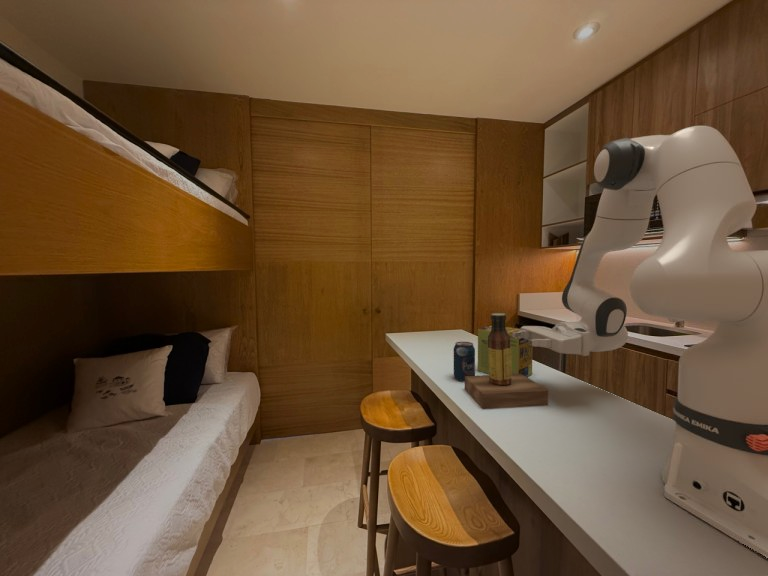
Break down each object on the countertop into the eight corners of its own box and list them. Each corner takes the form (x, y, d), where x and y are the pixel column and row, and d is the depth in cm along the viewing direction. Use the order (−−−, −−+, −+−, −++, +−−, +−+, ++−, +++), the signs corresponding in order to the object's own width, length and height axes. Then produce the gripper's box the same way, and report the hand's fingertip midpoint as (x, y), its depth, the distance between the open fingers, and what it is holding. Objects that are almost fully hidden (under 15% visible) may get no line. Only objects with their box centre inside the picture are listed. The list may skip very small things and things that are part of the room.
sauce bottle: (508, 378, 95) (508, 312, 93) (514, 386, 88) (515, 315, 87) (485, 378, 95) (485, 312, 94) (490, 386, 89) (490, 315, 88)
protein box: (519, 382, 103) (519, 334, 102) (476, 371, 115) (477, 328, 114) (533, 374, 110) (533, 330, 109) (492, 365, 122) (492, 324, 121)
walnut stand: (548, 405, 86) (548, 390, 85) (483, 408, 84) (483, 393, 84) (520, 386, 99) (521, 373, 99) (464, 389, 98) (464, 376, 98)
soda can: (467, 384, 102) (467, 347, 101) (449, 378, 107) (449, 343, 107) (479, 378, 107) (479, 343, 106) (461, 374, 112) (461, 340, 111)
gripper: (546, 320, 103) (504, 322, 101) (593, 333, 82) (542, 335, 81) (545, 340, 103) (504, 341, 102) (593, 357, 83) (542, 359, 81)
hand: (521, 338), depth 91 cm, fingers open, 8 cm apart
